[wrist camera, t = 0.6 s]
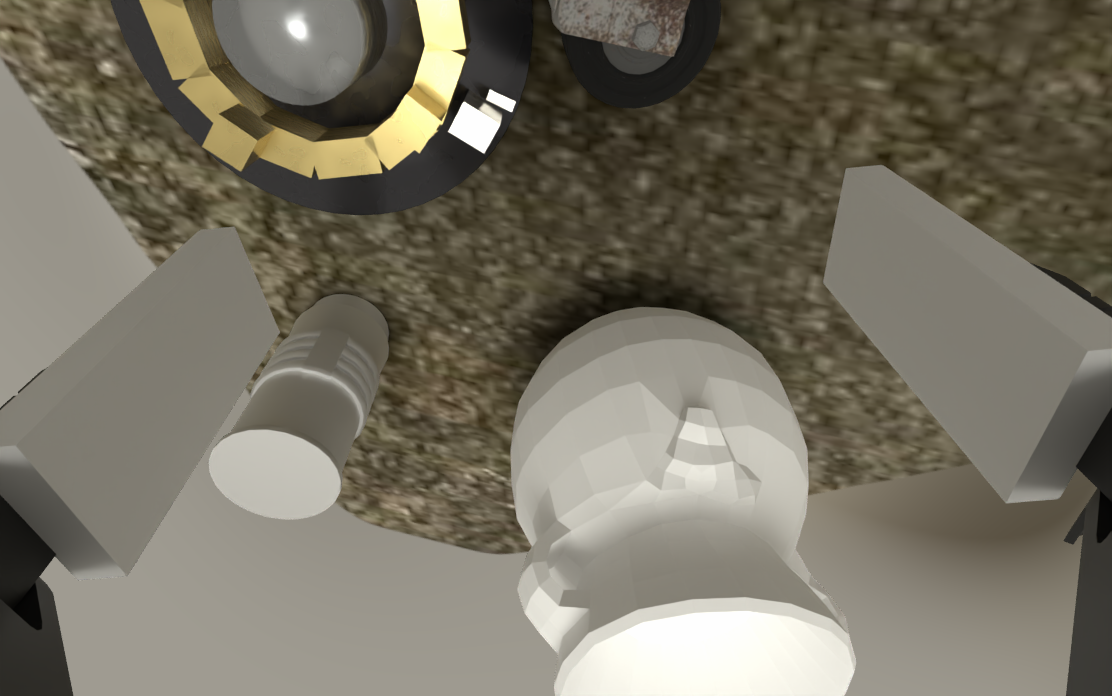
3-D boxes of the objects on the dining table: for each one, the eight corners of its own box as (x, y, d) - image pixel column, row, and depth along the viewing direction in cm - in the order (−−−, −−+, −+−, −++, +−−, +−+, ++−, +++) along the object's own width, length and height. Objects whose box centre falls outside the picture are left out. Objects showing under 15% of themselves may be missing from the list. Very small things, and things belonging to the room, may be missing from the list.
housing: (23, -234, 27) (-130, -290, 21) (503, -292, 26) (494, -367, 20) (220, 222, 39) (161, 273, 33) (550, 189, 39) (554, 234, 32)
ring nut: (114, -149, 27) (30, -170, 23) (436, -186, 27) (416, -215, 22) (240, 173, 36) (197, 205, 31) (487, 147, 35) (480, 176, 31)
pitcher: (486, 424, 50) (452, 762, 29) (560, 227, 40) (590, 520, 19) (685, 472, 54) (782, 800, 33) (795, 303, 44) (1030, 614, 23)
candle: (405, 304, 43) (354, 447, 31) (383, 376, 47) (329, 531, 34) (309, 274, 41) (212, 412, 29) (294, 351, 45) (202, 503, 32)
